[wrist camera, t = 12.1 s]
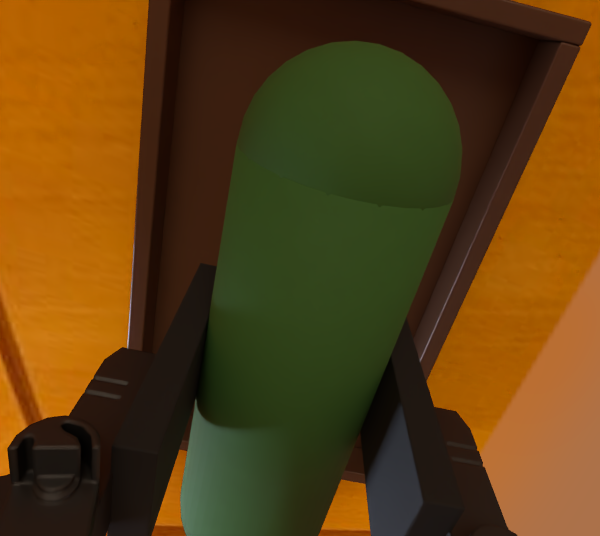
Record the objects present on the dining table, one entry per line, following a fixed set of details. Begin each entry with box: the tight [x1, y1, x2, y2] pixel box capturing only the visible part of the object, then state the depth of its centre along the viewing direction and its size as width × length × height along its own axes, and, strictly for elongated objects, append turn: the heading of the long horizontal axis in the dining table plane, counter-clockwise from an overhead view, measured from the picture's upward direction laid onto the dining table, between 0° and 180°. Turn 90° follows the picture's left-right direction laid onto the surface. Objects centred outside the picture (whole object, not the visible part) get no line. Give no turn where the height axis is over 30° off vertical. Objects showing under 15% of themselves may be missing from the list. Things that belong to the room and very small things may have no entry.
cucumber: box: [180, 41, 462, 536], centre depth 12 cm, size 16×5×5 cm, turn 167°
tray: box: [127, 0, 591, 484], centre depth 17 cm, size 19×12×2 cm, turn 167°
